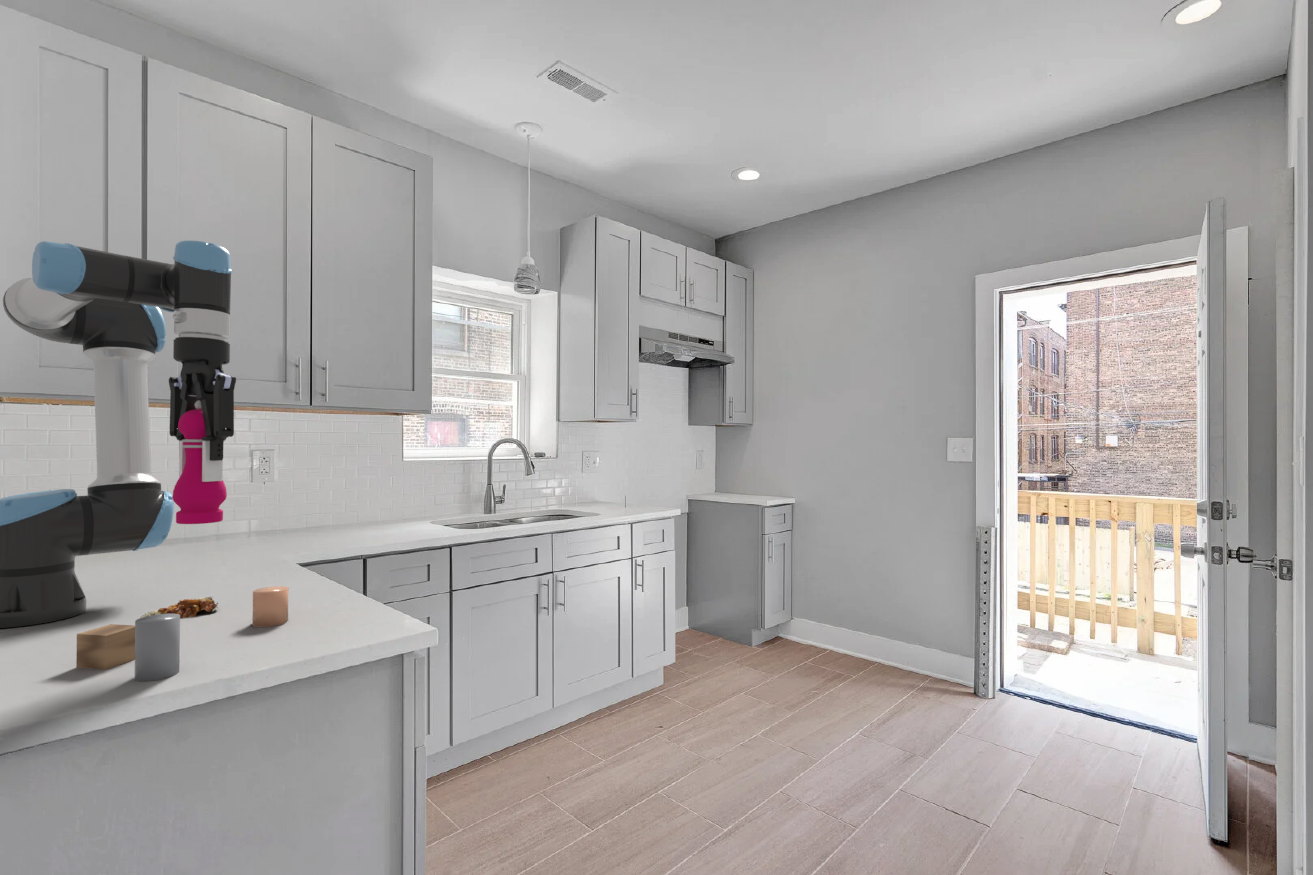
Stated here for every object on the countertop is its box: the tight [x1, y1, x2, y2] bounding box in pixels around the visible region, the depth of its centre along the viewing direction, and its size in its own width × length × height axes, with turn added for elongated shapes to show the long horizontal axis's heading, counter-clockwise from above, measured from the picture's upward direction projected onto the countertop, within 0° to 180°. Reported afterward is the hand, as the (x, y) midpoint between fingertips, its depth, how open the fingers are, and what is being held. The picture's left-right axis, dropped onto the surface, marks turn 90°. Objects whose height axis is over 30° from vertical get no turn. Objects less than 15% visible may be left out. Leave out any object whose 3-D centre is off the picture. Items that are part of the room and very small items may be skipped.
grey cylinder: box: [134, 614, 181, 682], centre depth 90 cm, size 5×5×8 cm
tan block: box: [75, 623, 135, 671], centre depth 95 cm, size 5×5×5 cm
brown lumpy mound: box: [138, 596, 219, 620], centre depth 121 cm, size 7×12×4 cm, turn 135°
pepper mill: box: [172, 400, 228, 525], centre depth 104 cm, size 7×7×20 cm
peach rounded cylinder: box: [251, 585, 290, 628], centre depth 116 cm, size 6×6×6 cm
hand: (200, 480), depth 104 cm, fingers closed on pepper mill, 5 cm apart
